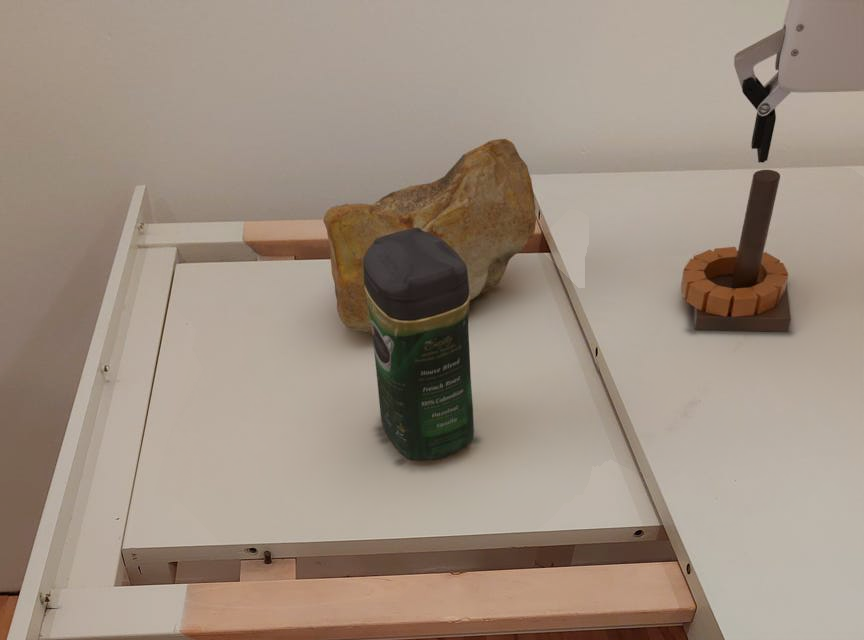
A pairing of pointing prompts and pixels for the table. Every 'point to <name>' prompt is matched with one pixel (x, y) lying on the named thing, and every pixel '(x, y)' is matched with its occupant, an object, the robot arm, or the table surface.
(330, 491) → the table surface
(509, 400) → the table surface
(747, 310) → the ring
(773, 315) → the post stand
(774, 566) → the table surface
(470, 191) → the rough brown rock
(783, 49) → the robot arm
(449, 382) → the coffee jar
